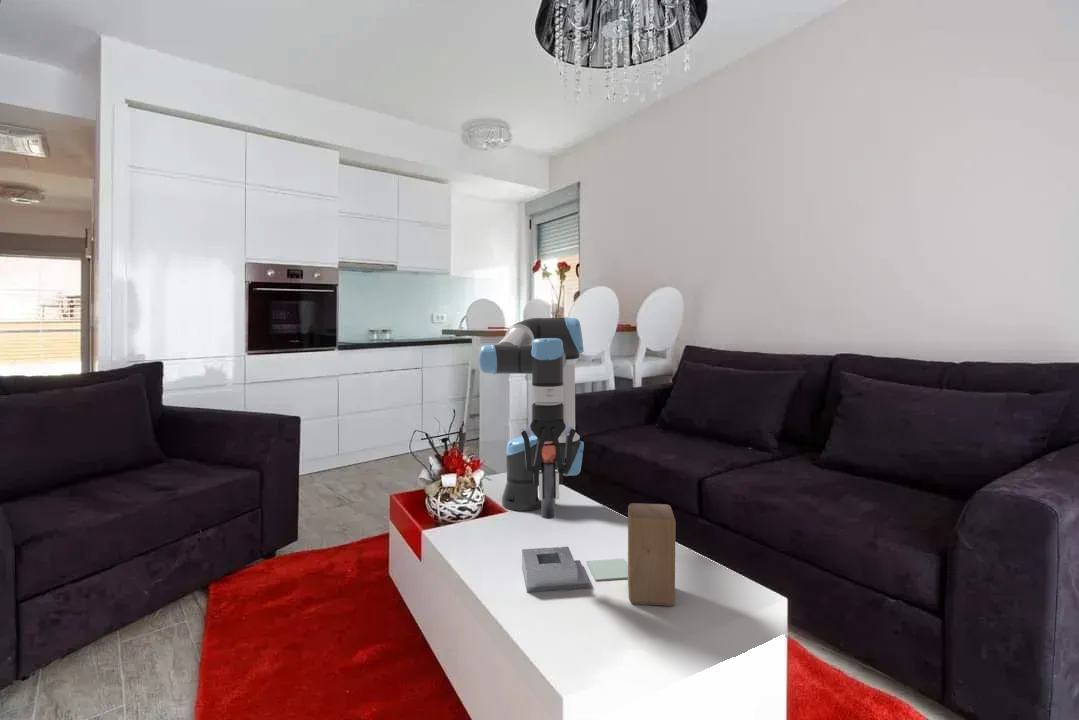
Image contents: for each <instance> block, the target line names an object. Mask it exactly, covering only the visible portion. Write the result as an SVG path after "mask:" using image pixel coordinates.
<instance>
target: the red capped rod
mask: <svg viewBox="0 0 1079 720" xmlns="http://www.w3.org/2000/svg"><path fill="white" fill-rule="evenodd" d="M555 461H557V459H556V445H554V444H553V442H544V446H541V472H542V500H541V505H542V507H541V518H542V519H545V520H551V519H555V518H556V498H555Z"/></svg>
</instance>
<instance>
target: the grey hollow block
mask: <svg viewBox="0 0 1079 720" xmlns="http://www.w3.org/2000/svg"><path fill="white" fill-rule="evenodd" d="M572 554H573V553H572V552H571V549H570V547H569V546H558V547H557V546H556V547H542V548H541V547H539V548H537V547H536V548H521V557H522V558H521V570H522V575H523V580H524V584H525V590H526V593H535V592H536V593H539V592H549V591H551V592H553V591H554V592H555V591H565V590H577V589H578V590H579V589H582V590H583V589H591V582H590V579H589V578H588V576H587V573H586V570H585V568H584V567H583V564H582V562H581V560H580V559H579V560H578V559H577V560H575V558H574V556H573V555H572Z"/></svg>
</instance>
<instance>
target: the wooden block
mask: <svg viewBox="0 0 1079 720" xmlns="http://www.w3.org/2000/svg"><path fill="white" fill-rule="evenodd" d="M676 528H677V527H676V519H675V516H674V512H673V510H672V507H671V505H669V504H664V503H663V504H662V503H640V502H639V503H638V502H637V503H635V502H632V503H629V505H628V507H627V565H628V579H627V592H628V600H629V602H630V603H632V604H638V605H651V606H664V607H666V606H667V607H672V606H674V604H675V602H676V534H677V533H676V532H677V531H676Z"/></svg>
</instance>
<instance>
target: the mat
mask: <svg viewBox="0 0 1079 720" xmlns="http://www.w3.org/2000/svg"><path fill="white" fill-rule="evenodd" d="M586 565H587V566H588V568H589V571H590V573H591V575H592V576H593V580H594V581H595V582H602V581H615V580H617V581H618V580H628V562H627V561H626V559H625V558H612V559H595V560H586Z"/></svg>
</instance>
